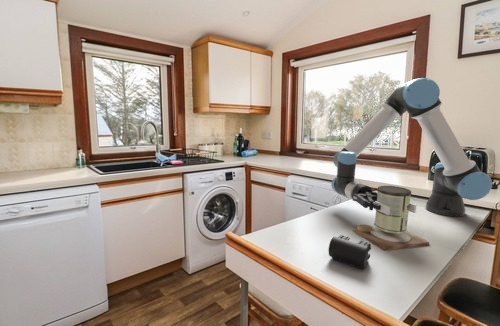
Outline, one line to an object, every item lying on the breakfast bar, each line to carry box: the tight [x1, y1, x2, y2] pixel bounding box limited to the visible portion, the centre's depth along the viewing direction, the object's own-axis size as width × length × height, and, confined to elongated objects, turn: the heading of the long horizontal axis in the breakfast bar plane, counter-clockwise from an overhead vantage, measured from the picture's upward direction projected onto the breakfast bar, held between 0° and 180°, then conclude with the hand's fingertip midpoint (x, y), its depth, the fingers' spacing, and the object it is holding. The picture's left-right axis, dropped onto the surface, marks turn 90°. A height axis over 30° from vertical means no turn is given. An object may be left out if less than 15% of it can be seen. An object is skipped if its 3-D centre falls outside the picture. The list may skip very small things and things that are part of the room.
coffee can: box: [373, 185, 412, 234], centre depth 95 cm, size 10×10×14 cm
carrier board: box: [352, 224, 430, 251], centre depth 96 cm, size 18×16×2 cm
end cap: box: [328, 234, 372, 270], centre depth 78 cm, size 10×7×7 cm
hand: (402, 209), depth 91 cm, fingers closed on coffee can, 10 cm apart
